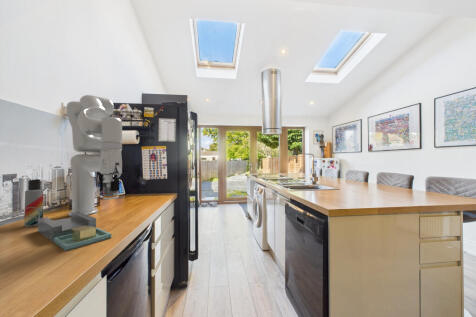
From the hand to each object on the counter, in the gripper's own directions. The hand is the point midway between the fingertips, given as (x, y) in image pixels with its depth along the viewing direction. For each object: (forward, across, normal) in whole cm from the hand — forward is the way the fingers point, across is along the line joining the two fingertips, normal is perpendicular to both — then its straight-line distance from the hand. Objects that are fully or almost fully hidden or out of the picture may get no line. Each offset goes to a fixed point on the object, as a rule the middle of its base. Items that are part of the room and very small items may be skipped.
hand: (111, 189), depth 83 cm
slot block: (+16, -11, -12) cm, 22 cm away
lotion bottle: (+16, -32, -17) cm, 40 cm away
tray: (+16, +6, -12) cm, 20 cm away
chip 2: (+13, +6, -11) cm, 19 cm away
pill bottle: (+4, 0, 0) cm, 4 cm away
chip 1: (+15, +4, -12) cm, 20 cm away
